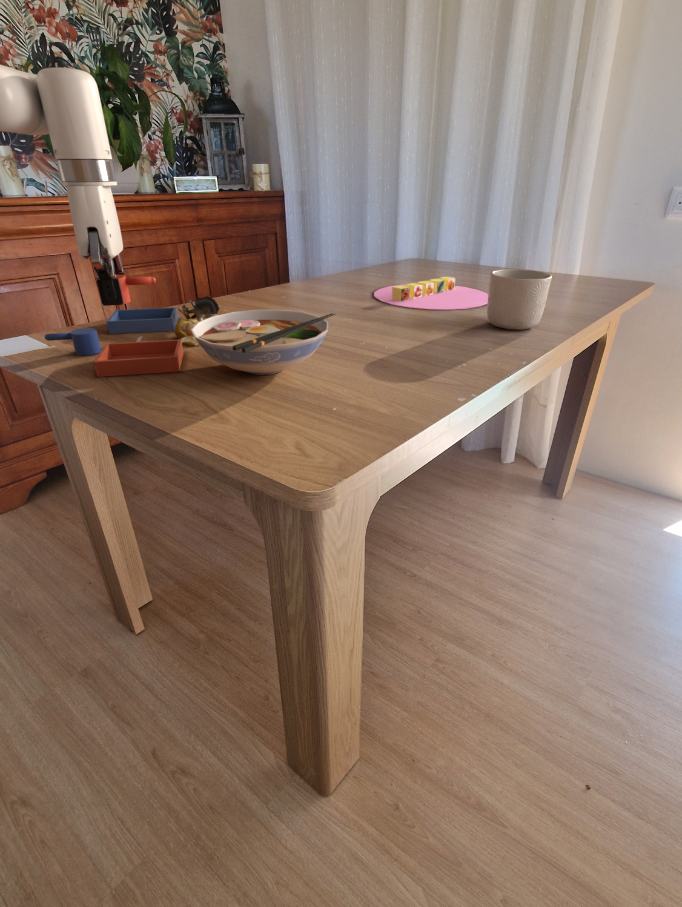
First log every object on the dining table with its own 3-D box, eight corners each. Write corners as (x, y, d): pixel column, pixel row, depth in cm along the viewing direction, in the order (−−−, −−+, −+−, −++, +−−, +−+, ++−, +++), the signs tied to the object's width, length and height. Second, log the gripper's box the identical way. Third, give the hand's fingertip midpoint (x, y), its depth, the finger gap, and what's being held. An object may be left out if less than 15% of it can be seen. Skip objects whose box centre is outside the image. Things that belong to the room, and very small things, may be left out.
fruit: (187, 347, 96) (184, 329, 94) (164, 339, 101) (161, 321, 99) (222, 338, 101) (220, 320, 99) (198, 330, 106) (196, 313, 104)
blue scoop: (103, 347, 96) (98, 327, 94) (98, 355, 92) (93, 333, 90) (53, 350, 94) (47, 329, 92) (46, 358, 91) (39, 336, 89)
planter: (547, 323, 112) (558, 272, 107) (532, 336, 103) (543, 281, 98) (493, 315, 118) (501, 267, 113) (475, 327, 109) (482, 275, 104)
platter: (349, 294, 138) (349, 281, 136) (424, 279, 156) (425, 268, 154) (441, 316, 117) (442, 302, 115) (514, 296, 135) (517, 283, 134)
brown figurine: (179, 326, 105) (220, 318, 104) (174, 293, 106) (215, 285, 105) (193, 336, 113) (231, 329, 112) (189, 306, 113) (227, 298, 112)
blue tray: (109, 334, 104) (106, 321, 103) (118, 321, 113) (115, 309, 111) (174, 330, 106) (172, 318, 105) (178, 318, 115) (176, 307, 114)
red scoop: (99, 305, 80) (93, 280, 78) (105, 299, 84) (99, 275, 82) (158, 303, 81) (153, 277, 79) (161, 297, 85) (156, 272, 83)
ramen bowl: (262, 339, 101) (259, 298, 97) (357, 360, 90) (358, 314, 86) (162, 376, 83) (153, 327, 79) (267, 407, 72) (263, 353, 68)
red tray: (97, 376, 82) (93, 361, 81) (109, 357, 91) (106, 343, 90) (179, 371, 85) (176, 356, 83) (183, 352, 93) (181, 339, 92)
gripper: (75, 174, 79) (103, 291, 89) (42, 175, 65) (79, 315, 74) (124, 174, 81) (146, 289, 90) (102, 174, 66) (131, 312, 75)
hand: (116, 300), depth 82 cm, fingers closed on red scoop, 4 cm apart
